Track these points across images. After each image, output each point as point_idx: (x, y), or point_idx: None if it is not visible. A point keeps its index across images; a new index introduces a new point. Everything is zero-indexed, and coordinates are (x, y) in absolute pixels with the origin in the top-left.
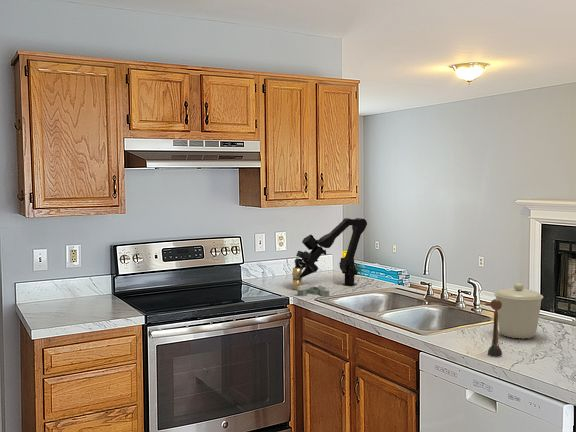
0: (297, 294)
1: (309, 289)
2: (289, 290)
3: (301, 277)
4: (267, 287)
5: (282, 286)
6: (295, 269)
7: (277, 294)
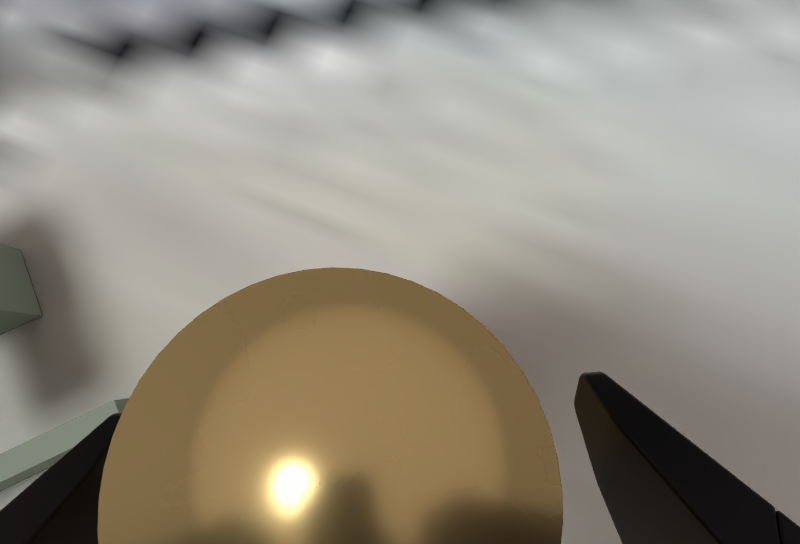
0: (12, 249)
1: None
2: None
3: None
4: (681, 77)
5: (703, 291)
6: (194, 331)
7: (184, 40)
